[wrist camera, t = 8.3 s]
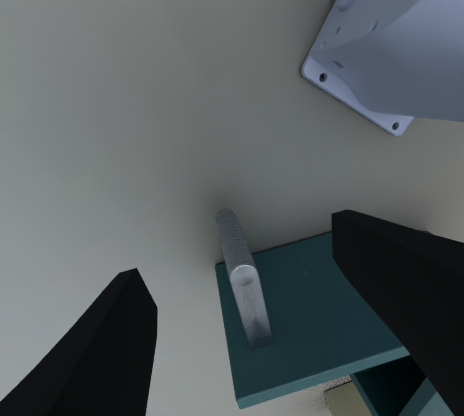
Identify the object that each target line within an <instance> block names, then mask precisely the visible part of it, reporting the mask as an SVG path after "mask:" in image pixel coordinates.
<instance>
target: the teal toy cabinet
mask: <svg viewBox="0 0 464 416" xmlns="http://www.w3.org/2000/svg"><path fill="white" fill-rule="evenodd" d="M422 232H425V233H429V234H431V233H430V232H428V231H422ZM432 235H433V234H432ZM349 376H350V378H351V380H352V381H353V383H354V385H355V386H356V388H357V390H358V392H359V393H360V395H361V397H362V399H363V400H364V402H365V404H366V406H367V407H368V409H369V411H370V413H371V414H372V416H454V415H453V414H452V412H451V411H450V409H449V408H448V406H447V405H446V404H445V402H444V401H443V399H442V398H441V396H440V395H439V394H438V392H437V391H436V389H435V388H434V386H433V385H432V384H431V382H430V381H429V379H428V378H427V377H426V375H425V374H424V373H423V371H422V370H421V368H420V367H419V366H418V364H417V363H416V362H415V360H414V359H413V357H412V356H411V355H407V356H404V357H401V358H398V359H395V360H392V361H389V362H386V363H383V364H380V365H377V366H373V367H370V368H367V369H364V370H361V371H358V372H355V373H352V374H349Z"/></svg>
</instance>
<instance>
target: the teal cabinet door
mask: <svg viewBox="0 0 464 416" xmlns="http://www.w3.org/2000/svg"><path fill="white" fill-rule="evenodd" d="M216 222H217V227H218V231H219V235H220V240H221V244H222V249H223V253H224V258H225V262H226V263H223V264H219V265H216V266H215V270H216V277H217V283H218V289H219V296H220V302H221V309H222V315H223V321H224V328H225V334H226V340H227V347H228V353H229V360H230V366H231V372H232V379H233V385H234V391H235V398H236V401H237V404H238V406H239V408H240V409H243V408H246V407H250V406H253V405H256V404H259V403H262V402H265V401H268V400H271V399H274V398H277V397H281V396H284V395H287V394H290V393H293V392H296V391H299V390H302V389H305V388H308V387H311V386H315V385H318V384H321V383H324V382H327V381H330V380H333V379H336V378H339V377H342V376H346V375H349V374H352V373H355V372H358V371H361V370H364V369H367V368H370V367H373V366H377V365H380V364H383V363H386V362H389V361H392V360H395V359H398V358H401V357H404V356H407V355H410V353H409V352H408V351H407V349H406V348H405V347H404V346H403V344H402V343H401V342H400V341H399V339H398V338H397V337H396V336H395V335H394V333H393V332H392V331H391V330H390V329H389V328H388V326H387V325H386V324H385V323H384V322H383V321H382V320H381V318H380V317H379V316H378V315H377V314H376V313H375V312H374V310H373V309H372V308H371V307H370V306H369V305H368V304H367V302H366V301H365V300H364V299H363V298H362V297H361V295H360V294H359V293H358V292H357V291H356V290H355V288H354V287H353V286H352V285H351V284H350V283H349V281H348V280H347V279H346V277H345V276H344V274H343V273H342V271H341V270H340V268H339V267H338V265H337V264H336V262H335V261H334V259H333V257H332V232H330V233H327V234H323V235H320V236H316V237H313V238H309V239H306V240H302V241H299V242H295V243H292V244H289V245H285V246H282V247H278V248H275V249H271V250H268V251H264V252H261V253H257V254H254V255H252V254H251V252H250V249H249V247H248V244H247V242H246V239H245V237H244V234H243V232H242V229H241V227H240V224H239V222H238V219H237V217H236V214H235V212H234V211H233V210H231V209H222V210H220V211H219V212H218V213H217V215H216Z"/></svg>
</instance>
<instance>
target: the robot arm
mask: <svg viewBox="0 0 464 416" xmlns="http://www.w3.org/2000/svg"><path fill="white" fill-rule="evenodd" d="M301 73H302V76H303V77H304V78H305V79H307V80H309V81H310V82H312V83H313V84H315V85H316V86H318V87H319V88H321V89H322V90H324V91H325V92H327V93H329V94H330V95H332V96H333V97H335V98H336V99H338V100H339V101H341V102H342V103H344V104H345V105H347V106H349V107H350V108H352V109H353V110H355V111H356V112H358V113H359V114H361V115H362V116H364V117H365V118H367V119H369V120H370V121H372V122H373V123H375V124H376V125H378V126H379V127H381V128H382V129H384V130H385V131H387V132H388V133H390V134H392V135H394V136H400V135H401V134H403V132H404V131H405V130H406V128H407V127H408V125H409V124H410V123H411V121H412V120H413V118H414V117H420V118H430V119H440V120H450V121H460V122H464V0H336V1H335V3H334V5H333V7H332V9H331V11H330V13H329V15H328V16H327V18H326V20H325V22H324V24H323V26H322V28H321V30H320V32H319V34H318V36H317V38H316V40H315V42H314V44H313V46H312V48H311V50H310V52H309V54H308V55H307V57H306V59H305V61H304V63H303V65H302V68H301ZM321 73H322V74H323V75H324V79H323V81H322V82H321V81H320V80H319V77H320V75H321ZM394 123H395V126H394V127H393V128H392V126H393V124H394ZM332 257H333V259H334V261H335V262H336V264H337V265H338V267H339V268H340V270H341V271H342V273H343V274H344V276H345V277H346V279H347V280H348V281H349V283H350V284H351V285H352V286H353V287H354V288H355V290H356V291H357V292H358V293H359V294H360V295H361V297H362V298H363V299H364V300H365V301H366V302H367V304H368V305H369V306H370V307H371V308H372V309H373V310H374V312H375V313H376V314H377V315H378V316H379V317H380V318H381V320H382V321H383V322H384V323H385V324H386V325H387V326H388V328H389V329H390V330H391V331H392V332H393V333H394V335H395V336H396V337H397V338H398V339H399V341H400V342H401V343H402V344H403V346H404V347H405V348H406V349H407V351H408V352H409V353H410V355H411V356H412V357H413V359H414V360H415V362H416V363H417V364H418V366H419V367H420V368H421V370H422V371H423V373H424V374H425V375H426V377H427V378H428V379H429V381H430V382H431V384H432V385H433V386H434V388H435V389H436V391H437V392H438V394H439V395H440V396H441V398H442V399H443V401H444V402H445V404H446V405H447V406H448V408H449V409H450V411H451V412H452V414H453V415H454V416H464V243H462V242H458V241H455V240H451V239H447V238H443V237H440V236H436V235H432V234H429V233H425V232H422V231H418V230H415V229H412V228H408V227H405V226H402V225H398V224H395V223H392V222H389V221H386V220H382V219H379V218H376V217H373V216H370V215H366V214H363V213H359V212H356V211H352V210H344V211H340V212H337V213H333V214H332ZM156 340H157V306H156V304H155V302H154V300H153V298H152V296H151V294H150V293H149V291H148V289H147V287H146V285H145V283H144V281H143V279H142V277H141V275H140V273H139V271H138V269H137V268H135V269H131V270H128V271H124V272H120V273H119V274H118V275H117V276H116V277H115V278H114V279H113V280H112V281H111V282H110V283H109V285H108V286H107V287H106V288H105V289H104V290H103V292H102V293H101V294H100V295H99V296H98V297H97V299H96V300H95V301H94V302H93V303H92V304H91V306H90V307H89V308H88V309H87V310H86V311H85V313H84V314H83V315H82V316H81V317H80V318H79V319H78V321H77V322H76V323H75V324H74V325H73V326H72V328H71V329H70V330H69V331H68V332H67V333H66V334H65V335H64V336H63V337H62V338H61V340H60V341H59V342H58V343H57V344H56V345H55V346H54V347H53V348H52V349H51V350H50V352H49V353H48V354H47V355H46V356H45V357H44V358H43V359H42V360H41V361H40V362H39V364H38V365H37V366H36V367H35V368H34V369H33V370H32V371H31V372H30V373H29V374H28V375H27V376H26V377H25V378H24V379H23V380H22V381H21V382H20V383H19V384H18V385H17V386H16V387H15V388H14V389H13V390H12V391H11V392H10V393H9V394H8V395H7V396H6V397H5V398H4V399H3V400H2V401H0V416H145V415H146V408H147V401H148V395H149V388H150V381H151V375H152V368H153V361H154V354H155V347H156Z"/></svg>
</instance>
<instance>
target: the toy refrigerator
mask: <svg viewBox="0 0 464 416" xmlns="http://www.w3.org/2000/svg"><path fill="white" fill-rule="evenodd" d="M325 396H326V399H327V402H328V405H329V408H330V411H331V414H332V416H372V414H371V413H370V411H369V409H368V407H367V406H366V404H365V402H364V400H363V399H362V397H361V395H360V393H359V392H358V390H357V388H356V386H355V385H354V383H353V381H352V382H349V383H347V384H344V385H341V386H339V387H336V388H333V389H331V390H328V391H326V392H325Z"/></svg>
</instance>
